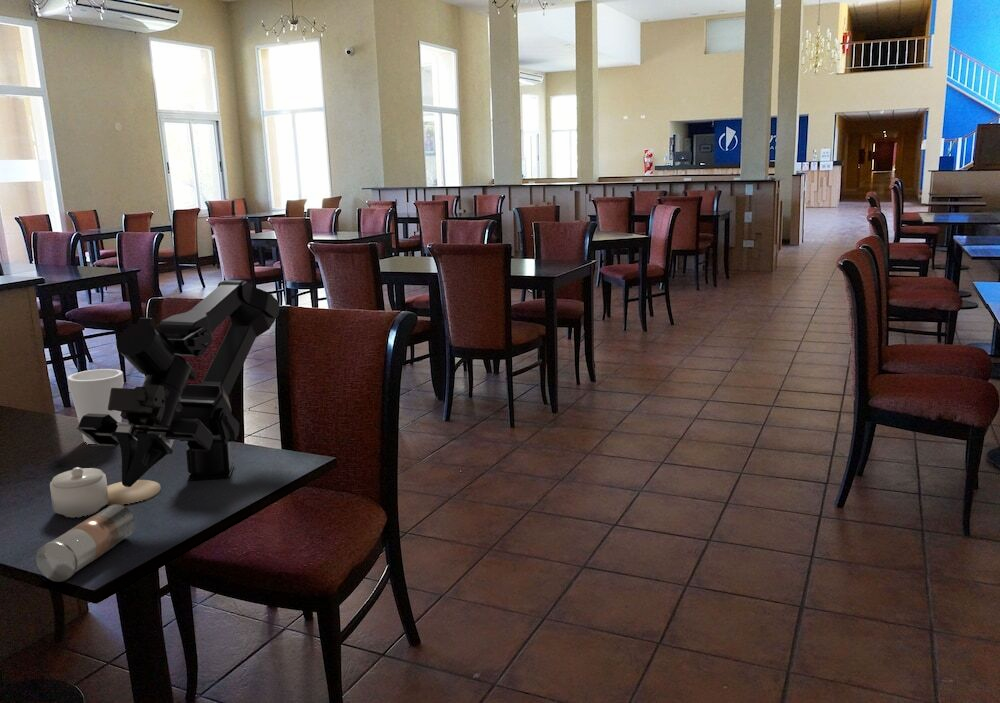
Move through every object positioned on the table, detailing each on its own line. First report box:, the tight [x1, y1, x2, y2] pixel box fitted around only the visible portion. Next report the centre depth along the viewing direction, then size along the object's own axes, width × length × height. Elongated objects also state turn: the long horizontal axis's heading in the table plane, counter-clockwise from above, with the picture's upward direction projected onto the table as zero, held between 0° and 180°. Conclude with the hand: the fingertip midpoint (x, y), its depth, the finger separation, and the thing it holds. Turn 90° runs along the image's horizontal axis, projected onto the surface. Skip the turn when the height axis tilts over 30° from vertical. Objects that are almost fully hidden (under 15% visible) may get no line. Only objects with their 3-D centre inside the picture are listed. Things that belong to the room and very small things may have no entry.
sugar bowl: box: [49, 466, 109, 519], centre depth 122 cm, size 8×8×7 cm
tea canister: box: [35, 504, 136, 583], centre depth 107 cm, size 5×5×13 cm
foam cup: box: [67, 368, 125, 445], centre depth 154 cm, size 10×9×13 cm
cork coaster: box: [105, 479, 162, 507], centre depth 129 cm, size 10×10×1 cm
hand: (126, 485), depth 114 cm, fingers closed
